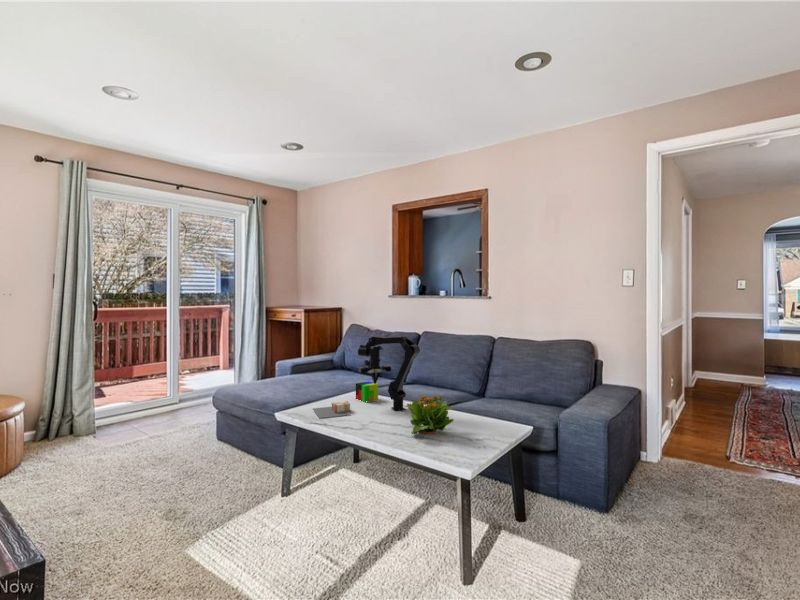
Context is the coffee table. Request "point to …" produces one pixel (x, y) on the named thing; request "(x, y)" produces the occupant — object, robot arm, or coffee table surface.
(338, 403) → the maple block
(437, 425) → the potted flower
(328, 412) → the mat
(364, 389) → the puzzle toy
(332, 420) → the coffee table surface
